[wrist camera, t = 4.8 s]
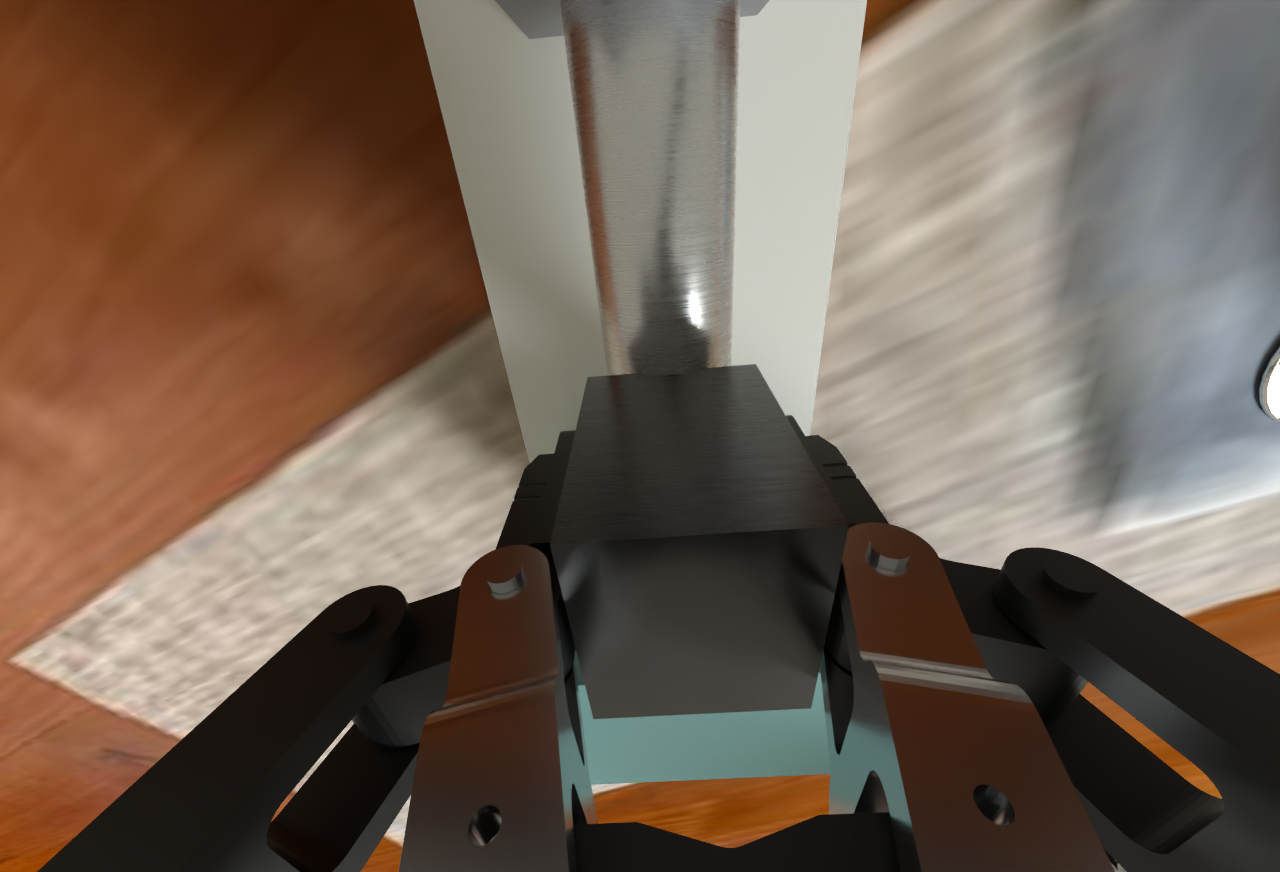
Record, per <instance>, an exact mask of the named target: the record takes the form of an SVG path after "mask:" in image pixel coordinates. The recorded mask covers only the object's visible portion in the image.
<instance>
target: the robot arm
mask: <svg viewBox="0 0 1280 872" xmlns="http://www.w3.org/2000/svg"><path fill="white" fill-rule="evenodd" d="M786 417H787V419H788V421H789V422H790V424H791V426H792V428H793V429H794V431H795V433H796V434H797V436H798V438H799V440H800V441H801V443H802V445H803V447H804V448H805V450H806V452H807V453H808V455H809V457H810V459H811V460H812V462H813V464H814V466H815V467H816V469H817V471H818V472H819V474H820V476H821V478H822V479H823V481H824V483H825V485H826V486H827V488H828V490H829V492H830V493H831V495H832V497H833V498H834V500H835V502H836V504H837V505H838V507H839V509H840V511H841V512H842V514H843V516H844V517H845V519H846V521H847V523H848V524H849V528H848V533H847V538H846V543H845V548H844V552H843V557H842V562H841V567H840V572H839V577H838V581H837V586H836V591H835V596H834V601H833V606H832V610H831V615H830V620H829V625H828V630H827V635H826V639H825V644H824V649H823V654H822V659H821V664H820V673H821V682H822V692H823V701H824V710H825V720H826V729H827V739H828V748H829V758H830V791H829V815H818V816H816V817H813V818H811V819H808V820H806V821H803V822H801V823H798V824H796V825H793V826H791V827H788V828H786V829H783V830H781V831H778V832H776V833H773V834H771V835H768V836H766V837H763V838H761V839H758V840H756V841H753V842H751V843H748V844H746V845H743V846H740V847H737V848H724V847H720V846H716V845H713V844H709V843H706V842H703V841H699V840H696V839H692V838H689V837H686V836H682V835H679V834H675V833H672V832H668V831H665V830H662V829H658V828H655V827H651V826H648V825H645V824H641V823H638V822H630V823H605V824H598V821H597V815H596V809H595V804H594V799H593V794H592V788H591V783H590V776H589V769H588V762H587V754H586V746H585V738H584V730H583V722H582V714H581V706H580V698H579V690H578V682H577V675H576V667H575V663H574V657H575V650H576V647H575V643H574V639H573V635H572V631H571V627H570V623H569V619H568V615H567V611H566V607H565V603H564V599H563V595H562V591H561V587H560V583H559V579H558V575H557V571H556V567H555V563H554V559H553V555H552V551H551V547H550V541H551V537H552V532H553V528H554V524H555V519H556V515H557V510H558V506H559V501H560V497H561V493H562V488H563V484H564V479H565V475H566V470H567V466H568V462H569V457H570V453H571V448H572V444H573V439H574V435H575V431H576V430H572V431H561V432H560V434H559V438H558V441H557V445H556V449H555V452H554V454H540V455H538V456H537V457H536V458H535V459H534V460H533V461H532V462H531V463H530V464H529V465H528V466H527V467H526V468H525V469H524V472H523V475H522V478H521V480H520V483H519V488H518V489H517V492H516V494H515V497H514V501H513V503H512V505H511V508H510V511H509V514H508V516H507V519H506V522H505V525H504V528H503V530H502V533H501V536H500V539H499V541H498V544H497V547H496V550H493V551H491V552H489V553H487V554H486V555H484V556H483V557H481V558H480V559H478V560H477V561H476V562H475V563H474V564H473V565H472V566H471V567H470V568H469V569H468V570H467V572H466V573H465V575H464V577H463V579H462V582H461V586H459V587H457V588H454V589H452V590H449V591H446V592H443V593H440V594H437V595H434V596H431V597H428V598H425V599H421V600H418V601H415V602H412V603H409V604H408V603H407V601H406V599H405V597H404V595H403V594H402V592H400V591H399V590H398V589H396V588H394V587H391V586H384V585H378V586H370V587H366V588H362V589H359V590H357V591H354V592H352V593H350V594H347V595H345V596H344V597H342V598H340V599H338V600H337V601H335V602H334V603H333V604H331V605H330V606H328V607H327V608H326V609H325V610H324V611H322V612H321V613H320V614H319V615H318V616H317V617H316V618H315V619H314V620H313V621H311V622H310V623H309V624H308V625H307V626H306V627H305V628H304V629H303V630H302V631H300V632H299V633H298V634H297V635H296V636H295V637H294V638H293V639H292V640H291V641H290V642H288V643H287V644H286V645H285V646H284V647H283V648H282V649H281V650H280V651H279V652H277V653H276V654H275V655H274V656H273V657H272V658H271V659H270V660H269V661H268V662H267V663H265V664H264V665H263V666H262V667H261V668H260V669H259V670H258V671H257V672H256V673H254V674H253V675H252V676H251V677H250V678H249V679H248V680H247V681H246V682H245V683H243V684H242V685H241V686H240V687H239V688H238V689H237V690H236V691H235V692H234V693H233V694H231V695H230V696H229V697H228V698H227V699H226V700H225V701H224V702H223V703H222V704H220V705H219V706H218V707H217V708H216V709H215V710H214V711H213V712H212V713H211V714H210V715H208V716H207V717H206V718H205V719H204V720H203V721H202V722H201V723H200V724H199V725H197V726H196V727H195V728H194V729H193V730H192V731H191V732H190V733H189V734H188V735H186V736H185V737H184V738H183V739H182V740H181V741H180V742H179V743H178V744H177V745H176V746H174V747H173V748H172V749H171V750H170V751H169V752H168V753H167V754H166V755H165V756H163V757H162V758H161V759H160V760H159V761H158V762H157V763H156V764H155V765H154V766H153V767H151V768H150V769H149V770H148V771H147V772H146V773H145V774H144V775H143V776H142V777H140V778H139V779H138V780H137V781H136V782H135V783H134V784H133V785H132V786H131V787H130V788H128V789H127V790H126V791H125V792H124V793H123V794H122V795H121V796H120V797H119V798H117V799H116V800H115V801H114V802H113V803H112V804H111V805H110V806H109V807H108V808H106V809H105V810H104V811H103V812H102V813H101V814H100V815H99V816H98V817H97V818H96V819H94V820H93V821H92V822H91V823H90V824H89V825H88V826H87V827H86V828H85V829H83V830H82V831H81V832H80V833H79V834H78V835H77V836H76V837H75V838H74V839H73V840H71V841H70V842H69V843H68V844H67V845H66V846H65V847H64V848H63V849H62V850H60V851H59V852H58V853H57V854H56V855H55V856H54V857H53V858H52V859H51V860H49V861H48V862H47V863H46V864H45V865H44V866H43V867H42V868H41V869H40V870H39V871H37V872H360V871H361V870H362V868H363V867H364V865H365V864H366V862H367V861H368V859H369V857H370V856H371V854H372V853H373V851H374V850H375V848H376V847H377V845H378V844H379V842H380V841H381V839H382V838H383V836H384V835H385V833H386V832H387V830H388V829H389V827H390V825H391V824H392V822H393V821H394V819H395V818H396V816H397V815H398V813H399V812H400V810H401V809H402V807H403V806H404V804H405V803H406V801H407V800H408V798H409V796H410V795H411V800H410V806H409V812H408V818H407V824H406V830H405V836H404V843H403V849H402V855H401V861H400V867H399V872H1115V871H1114V869H1113V867H1112V865H1111V862H1110V860H1109V858H1108V856H1107V854H1106V852H1105V850H1106V851H1107V852H1108V853H1109V854H1110V855H1111V856H1112V857H1113V858H1114V859H1115V860H1116V861H1117V862H1118V863H1119V864H1120V865H1121V866H1122V867H1123V868H1124V869H1125V870H1126V871H1127V872H1280V674H1278V673H1276V672H1275V671H1273V670H1271V669H1270V668H1268V667H1266V666H1265V665H1263V664H1261V663H1260V662H1258V661H1256V660H1255V659H1253V658H1251V657H1249V656H1248V655H1246V654H1244V653H1243V652H1241V651H1239V650H1238V649H1236V648H1234V647H1233V646H1231V645H1229V644H1228V643H1226V642H1224V641H1222V640H1221V639H1219V638H1217V637H1216V636H1214V635H1212V634H1211V633H1209V632H1207V631H1206V630H1204V629H1202V628H1201V627H1199V626H1197V625H1196V624H1194V623H1192V622H1190V621H1189V620H1187V619H1185V618H1184V617H1182V616H1180V615H1179V614H1177V613H1175V612H1174V611H1172V610H1170V609H1169V608H1167V607H1165V606H1164V605H1162V604H1160V603H1158V602H1157V601H1155V600H1153V599H1152V598H1150V597H1148V596H1147V595H1145V594H1143V593H1142V592H1140V591H1138V590H1137V589H1135V588H1133V587H1131V586H1130V585H1128V584H1126V583H1125V582H1123V581H1121V580H1120V579H1118V578H1116V577H1115V576H1113V575H1111V574H1110V573H1108V572H1106V571H1105V570H1103V569H1101V568H1099V567H1098V566H1096V565H1094V564H1092V563H1090V562H1088V561H1086V560H1084V559H1081V558H1079V557H1076V556H1074V555H1071V554H1068V553H1064V552H1061V551H1057V550H1052V549H1046V548H1024V549H1019V550H1016V551H1014V552H1012V553H1011V554H1010V555H1009V556H1008V557H1007V558H1006V560H1005V562H1004V565H1003V567H1002V569H1001V570H999V569H993V568H987V567H982V566H976V565H970V564H964V563H958V562H953V561H948V560H944V559H941V558H939V557H938V555H937V553H936V552H935V550H934V549H933V548H932V547H931V546H930V545H929V544H928V543H927V542H926V541H925V540H923V539H922V538H921V537H919V536H917V535H916V534H914V533H912V532H910V531H908V530H906V529H904V528H901V527H898V526H894V525H890V524H889V523H888V521H887V520H886V518H885V517H884V516H883V514H882V513H881V511H880V510H879V508H878V507H877V505H876V504H875V502H874V501H873V500H872V498H871V497H870V495H869V494H868V492H867V491H866V489H865V488H864V486H863V485H862V484H861V482H860V481H859V479H856V475H855V473H854V472H853V470H852V469H851V468H850V466H847V462H846V460H845V459H844V457H843V456H842V454H841V453H840V452H839V450H838V449H837V447H835V446H834V445H832V444H831V443H829V442H828V441H826V440H825V439H823V438H822V437H820V436H819V435H813V436H805V435H804V433H803V431H802V430H801V428H800V427H799V425H798V423H797V422H796V420H795V418H794V417H793V416H792V415H786ZM1088 682H1090V683H1091V684H1092V685H1093V686H1095V687H1096V688H1097V689H1099V690H1100V691H1101V692H1102V693H1104V694H1105V695H1106V696H1108V697H1109V698H1110V699H1111V700H1113V701H1114V702H1115V703H1117V704H1118V705H1119V706H1120V707H1122V708H1123V709H1124V710H1126V711H1127V712H1128V713H1129V714H1131V715H1132V716H1133V717H1135V718H1136V719H1137V720H1138V721H1140V722H1141V723H1142V724H1144V725H1145V726H1146V727H1147V728H1149V729H1150V730H1151V731H1152V732H1154V733H1155V734H1156V735H1158V736H1159V737H1160V738H1161V739H1163V740H1164V741H1165V742H1167V743H1168V744H1169V745H1170V746H1172V747H1173V748H1174V749H1176V750H1177V751H1178V752H1179V753H1181V754H1182V755H1183V756H1185V757H1186V758H1187V759H1188V760H1190V761H1191V762H1192V763H1193V764H1195V765H1196V766H1197V767H1198V768H1199V769H1201V770H1202V771H1203V772H1204V773H1205V774H1206V775H1207V776H1208V777H1209V779H1210V780H1211V781H1212V782H1213V783H1214V785H1215V786H1216V788H1217V789H1218V790H1219V792H1220V794H1221V796H1222V798H1223V799H1220V798H1217V797H1214V796H1212V795H1209V794H1207V793H1205V792H1203V791H1201V790H1200V789H1198V788H1196V787H1195V786H1193V785H1192V784H1191V783H1189V782H1188V781H1187V780H1185V779H1184V778H1183V777H1182V776H1180V775H1179V774H1178V773H1177V772H1175V771H1174V770H1173V769H1172V768H1170V767H1169V766H1168V765H1167V764H1166V763H1164V762H1163V761H1162V760H1161V759H1159V758H1158V757H1157V756H1156V755H1154V754H1153V753H1152V752H1151V751H1149V750H1148V749H1147V748H1146V747H1145V746H1143V745H1142V744H1141V743H1140V742H1138V741H1137V740H1136V739H1135V738H1133V737H1132V736H1131V735H1130V734H1128V733H1127V732H1126V731H1125V730H1124V729H1122V728H1121V727H1120V726H1119V725H1117V724H1116V723H1115V722H1114V721H1112V720H1111V719H1110V718H1109V717H1107V716H1106V715H1105V714H1104V713H1103V712H1101V711H1100V710H1099V709H1098V708H1096V707H1095V706H1094V705H1093V704H1091V703H1090V702H1089V701H1088V700H1086V699H1085V698H1084V697H1083V696H1082V695H1080V694H1079V693H1080V692H1081V691H1082V689H1083V688H1084V687H1085V685H1086V684H1087V683H1088ZM351 720H352V721H353V722H354V724H353V726H352V727H351V728H350V729H349V730H348V732H347V733H346V734H345V735H344V736H343V738H342V739H341V740H340V741H339V742H338V744H337V745H336V746H335V747H334V748H333V750H332V751H331V752H330V753H329V754H328V756H327V757H326V758H325V759H324V760H323V762H322V763H321V764H320V765H319V766H318V768H317V769H316V770H315V771H314V773H313V774H312V775H311V776H310V777H309V779H308V780H307V781H306V782H305V783H304V785H303V786H302V787H301V788H300V789H299V791H298V792H297V793H296V794H295V795H294V797H293V798H292V799H291V800H290V801H289V803H288V804H287V805H286V806H285V807H284V809H283V810H282V811H281V812H280V813H279V815H278V816H277V817H276V818H275V819H274V820H273V821H272V822H271V820H272V818H273V816H274V814H275V812H276V811H277V809H278V808H279V806H280V805H281V803H282V802H283V801H284V800H285V798H286V797H287V796H288V795H289V793H290V792H291V791H292V790H293V789H294V788H295V786H296V785H297V784H298V783H299V782H300V780H301V779H302V778H303V777H304V776H305V774H306V773H307V772H308V771H309V770H310V769H311V767H312V766H313V765H314V764H315V763H316V761H317V760H318V759H319V758H320V757H321V755H322V754H323V753H324V752H325V751H326V750H327V748H328V747H329V746H330V745H331V744H332V742H333V741H334V740H335V739H336V738H337V736H338V735H339V734H340V733H341V732H342V731H343V729H344V728H345V727H346V726H347V725H348V723H349V722H350V721H351ZM270 822H271V823H270ZM1104 849H1105V850H1104Z"/></svg>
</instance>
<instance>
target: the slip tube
mask: <svg viewBox="0 0 1280 872" xmlns="http://www.w3.org/2000/svg"><path fill="white" fill-rule="evenodd" d="M560 7H561V15H562V23H563V31H564V39H565V47H566V54H567V62H568V70H569V78H570V86H571V94H572V102H573V109H574V117H575V125H576V133H577V141H578V149H579V156H580V164H581V172H582V180H583V188H584V196H585V204H586V211H587V219H588V227H589V235H590V243H591V251H592V258H593V266H594V274H595V282H596V290H597V298H598V306H599V313H600V321H601V329H602V337H603V345H604V353H605V360H606V368H607V376H595V377H587V382H586V386H585V391H584V395H583V399H582V404H581V408H580V413H579V417H578V422H577V426H576V431H575V435H574V439H573V444H572V448H571V453H570V457H569V462H568V466H567V470H566V475H565V479H564V484H563V488H562V493H561V497H560V501H559V506H558V510H557V515H556V519H555V524H554V528H553V532H552V537H551V541H550V547H551V551H552V555H553V559H554V563H555V567H556V571H557V575H558V579H559V583H560V587H561V591H562V595H563V599H564V603H565V607H566V611H567V615H568V619H569V623H570V627H571V631H572V635H573V639H574V643H575V647H576V651H577V655H578V659H579V663H580V667H581V671H582V675H583V679H584V683H585V687H586V691H587V695H588V699H589V703H590V707H591V711H592V715H593V719H609V718H629V717H649V716H669V715H690V714H710V713H730V712H750V711H770V710H791V709H811V707H812V702H813V697H814V693H815V688H816V683H817V678H818V673H819V668H820V664H821V659H822V654H823V649H824V644H825V639H826V635H827V630H828V625H829V620H830V615H831V610H832V606H833V601H834V596H835V591H836V586H837V581H838V577H839V572H840V567H841V562H842V557H843V552H844V548H845V543H846V538H847V533H848V528H849V524H848V523H847V521H846V519H845V517H844V516H843V514H842V512H841V511H840V509H839V507H838V505H837V504H836V502H835V500H834V498H833V497H832V495H831V493H830V492H829V490H828V488H827V486H826V485H825V483H824V481H823V479H822V478H821V476H820V474H819V472H818V471H817V469H816V467H815V466H814V464H813V462H812V460H811V459H810V457H809V455H808V453H807V452H806V450H805V448H804V447H803V445H802V443H801V441H800V440H799V438H798V436H797V434H796V433H795V431H794V429H793V428H792V426H791V424H790V422H789V421H788V419H787V417H786V415H785V414H784V412H783V410H782V409H781V407H780V405H779V403H778V402H777V400H776V398H775V396H774V395H773V393H772V391H771V390H770V388H769V386H768V384H767V383H766V381H765V379H764V377H763V376H762V374H761V372H760V370H759V369H758V367H757V365H756V364H751V365H738V366H731V359H732V318H733V277H734V235H735V194H736V153H737V111H738V70H739V29H740V0H560Z"/></svg>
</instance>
